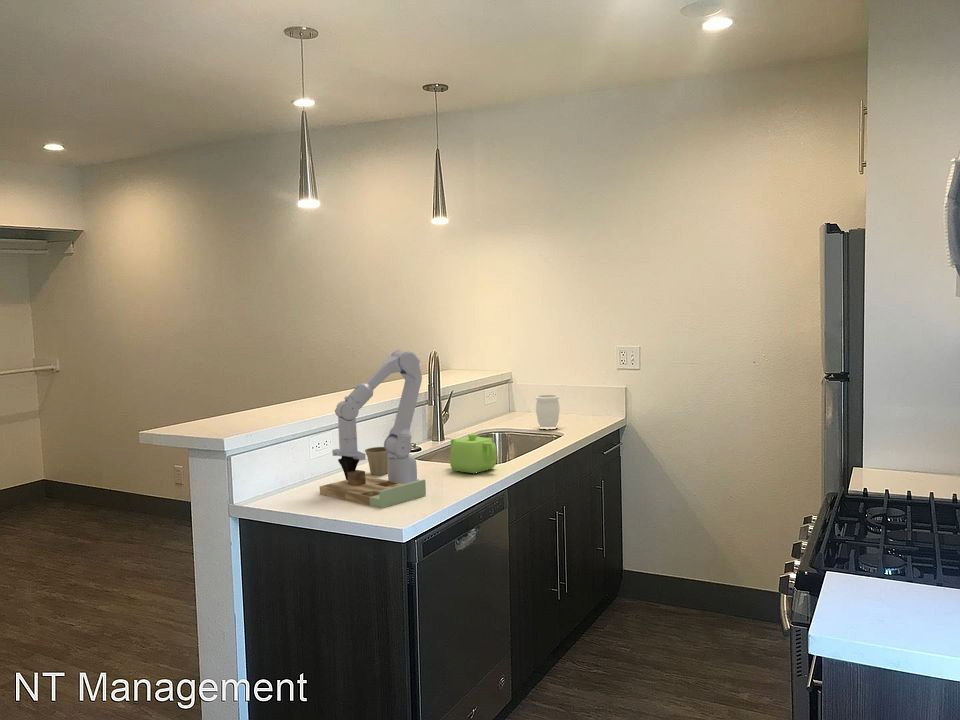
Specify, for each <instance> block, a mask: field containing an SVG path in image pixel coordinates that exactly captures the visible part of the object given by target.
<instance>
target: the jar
mask: <svg viewBox="0 0 960 720" xmlns="http://www.w3.org/2000/svg"><path fill="white" fill-rule="evenodd" d="M559 399H560V396H559V395H555V394H544V395H542V394H541V395H537V396H535V400H536V405H535V413H536V418H537V422H538V425H539V427H556V426H558V422H559V418H560V403H559Z"/></svg>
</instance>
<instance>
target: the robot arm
mask: <svg viewBox="0 0 960 720" xmlns="http://www.w3.org/2000/svg"><path fill="white" fill-rule="evenodd" d="M420 362H421V361H420V359H419V358H418V356H417V354H415V353H414V352H413V351H409V350H407V351H403V350H400V349H399V350H397V349H396V350H395V351H393V352H392V353H391V355H389V356H387V358H386V359H385V360H384V362H382V364H381V365H380V366H379V367H378V368H377V370H376V371H375V372H374V373H373V374H372V376H371V377H370V378H369V379H368V380H367V381H366V382H364V383H362V382H361V383H359V384H356V385H354V389H353V390H352V392H350V393H349V394H348V395H347V396H344V398H343V399H344V400H341V401H340V402H338V403H337V405H336V408H335V409H334V412H335V415H336V416H337V421H338V424H337V425H338V427H337V428H338V445H339V448H335V449H334V448H333V449H332V452H331V453H332V456H333V457H341V458H338V459H337V462H338V463H339V465H340V466H341V469H342V471H343V474H344V477H345V480H348V474H347V472H350V471H354V470H357V466H358V464H359V462H361V461H364V460H366V459H367V458H366V457H367V455H366V452H362V451H359V450H358V437H357V435H358V434H357V433H358V432H357V417H358V416H359V413H360V410H361V409H362V408H363V407H364V405H366V404H367V402H368V401H369V400H370V399H372V397H373V396H374V390H375V389H376V388H377V387H379V385H380V384H381V383H382V382H384V381H385V380H386V379H387V378H388V377H389V376H390V375H392V374H396V373H400V375H401V376H402V378H403V379H404V385H403V389H402V392H401V397H400V400H399V405H398V408H397V412H396V417H395V420H394V425H393V426H392V428H391V429H389V433H388V436H387V437H386V438H385V439H384V442H383V447H384V448H385V450H386V451H387V452H388V455H387V463H388V473H387V480H388V481H393V482H399V483H404V484H407V483H411V482H415V481H419V480H420V479H418V472H417V470H418V469H417V467H418V465H417V460H416V458H415V456H414V455H412V454H410V453H411V451H412V442H411V440H412V434H411V431H410V430H411V425H412V421H413V418H414V417H413V416H414V413H415V409H416V405H417V401H418V397H419V394H420V388H421V385H422V380H423V375H422V371H421V368H420Z"/></svg>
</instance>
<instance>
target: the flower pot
mask: <svg viewBox="0 0 960 720" xmlns="http://www.w3.org/2000/svg"><path fill="white" fill-rule="evenodd" d="M364 453H365V456H366V457H367V461H368V466H369V472H370V473H369V474H370V475H371V476H381V475H382V476H383V474H384V475H386V474H388V463H387V455H388V452H387V451H386V450H385V448H384V446H375V447H369V448H365V449H364Z"/></svg>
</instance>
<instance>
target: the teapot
mask: <svg viewBox="0 0 960 720" xmlns="http://www.w3.org/2000/svg"><path fill="white" fill-rule="evenodd" d="M493 441H494V438H493V437H485V436H484V437H483V436H478V434H477V433H469V434H467V437H462V438H452V439H450V449H449V454H450V456H449V457H450V459H449V463H450V464H449V465H450V467H451V469H452V471H454V472H455V471H456V472H458V471H460V472H459V473H469V474H471V473H476V472H478V473H479V472H480V473H481V472H486V471H485V470H488V469H489V470H492V469H493V468H495V467H496V464H497V459H498V454H497V452H498V451H497V447H496V443H495V442H493ZM494 466H495V467H494ZM489 470H488V471H489Z"/></svg>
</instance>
